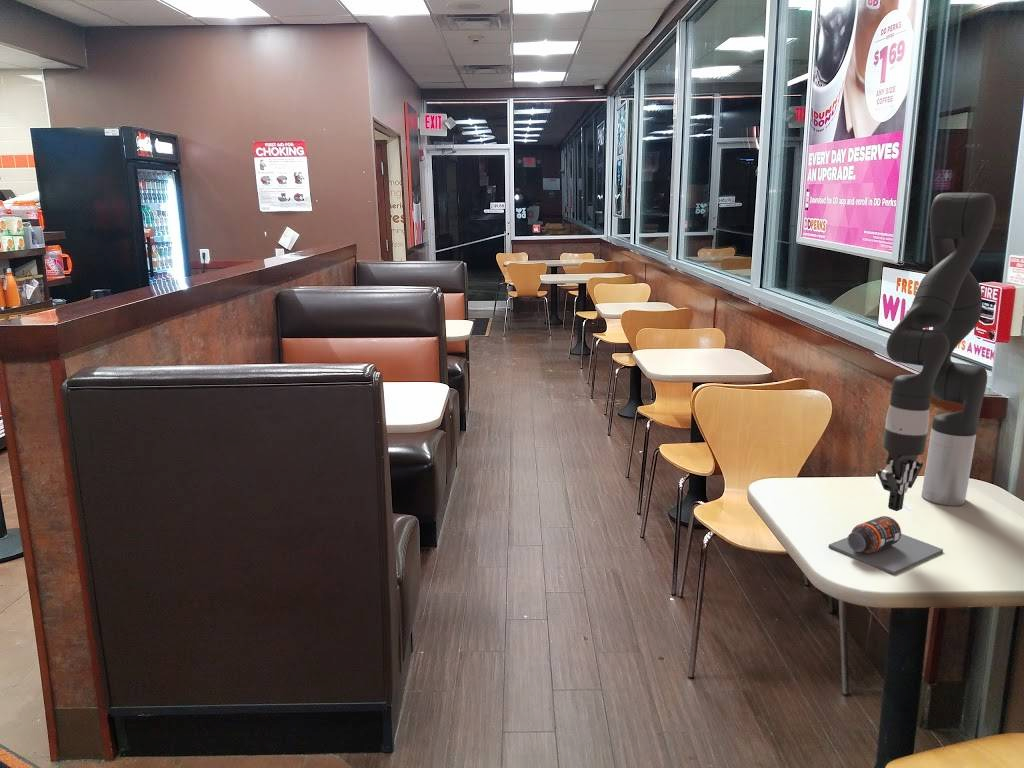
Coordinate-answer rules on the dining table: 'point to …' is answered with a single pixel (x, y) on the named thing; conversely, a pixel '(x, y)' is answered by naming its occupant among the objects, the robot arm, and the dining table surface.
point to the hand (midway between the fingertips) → (895, 509)
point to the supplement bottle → (874, 535)
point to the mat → (892, 554)
